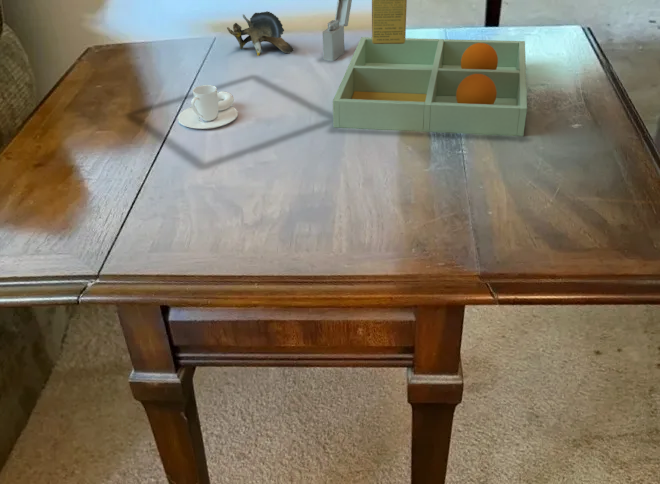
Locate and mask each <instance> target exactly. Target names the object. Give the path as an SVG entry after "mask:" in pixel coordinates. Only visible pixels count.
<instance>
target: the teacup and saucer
mask: <svg viewBox="0 0 660 484" xmlns="http://www.w3.org/2000/svg"><path fill="white" fill-rule="evenodd" d="M192 95H193V97H192V99H191V101H190V107H187V108H186V109H185V108H184V109H183V110H182V111H181V112H180V113H179V114H178V116H177V121H178V123H179V124H180V125H182V126H184V127H187V128H189V129H199V130H202V129H203V130H206V129H207V130H208V129H215V128H219V127H223V126H225V125H228V124H230V123H232V122H233V121H235V120H236V119H237V117H238V115H239V111H238V110H237V108H235V107H234V106H233V104H234V102H235V98H234V95H233V94H232V93H230V92H229V91H228V92H227V91H218V88H217V87H216V86H215V85H211V84H204V85H199V86H195V87H194V88H193V89H192ZM200 119H201V120H202V121H201V120H200Z"/></svg>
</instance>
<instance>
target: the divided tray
mask: <svg viewBox="0 0 660 484" xmlns="http://www.w3.org/2000/svg"><path fill="white" fill-rule="evenodd" d="M476 43H485V44H488V45H490V46H491V47H492V48H493V49H494V50H495V51H496V53H497V57H498V65H497V68H496V70H486V69H462V68H461V58H462V55H463V53H464V52H465V50H466V49H467V48H468V47H470V46H471V45H473V44H476ZM349 61H350V62H349V64H348V66H347V68H346V70H345V72H344V75H343V77H342V80H341V81H340V83H339V86H338V88H337V91H336V93H335V96H334V98H333V99H332V121H333V122H332V123H333V129H354V130H376V131H378V130H379V131H399V132H400V131H401V132H417V133H418V132H419V133H420V132H421V133H439V134H440V133H442V134H443V133H446V134H461V135H463V134H464V135H465V134H466V135H484V136H487V135H488V136H510V137H512V136H513V137H524V135H525V126H526V122H527V121H526V120H527V112H528V92H527V64H526V41H525V40H496V39H495V40H491V39H488V40H487V39H453V38H451V39H450V38H447V39H446V38H445V39H444V38H413V37H411V38H410V37H408V38H407V37H405V43H404V44H373V43H372V36H370V37H366V36H364V37H363V36H361V37H360V40H359V41H358V44H357V46H356V48H355V51H354V52H353V54H352V56H351V59H350V60H349ZM472 74H483V75H486V76H487V77H489V78H490V79H491V80H492V81H493V82H494V84H495V87H496V92H497V95H496V100H495V102H494V104H493V105H490V104H464V103H457V99H456V92H457V88H458V86H459V84H460V83H461V81H462V80H463V79H464V78H466V77H467V76H469V75H472Z"/></svg>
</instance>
